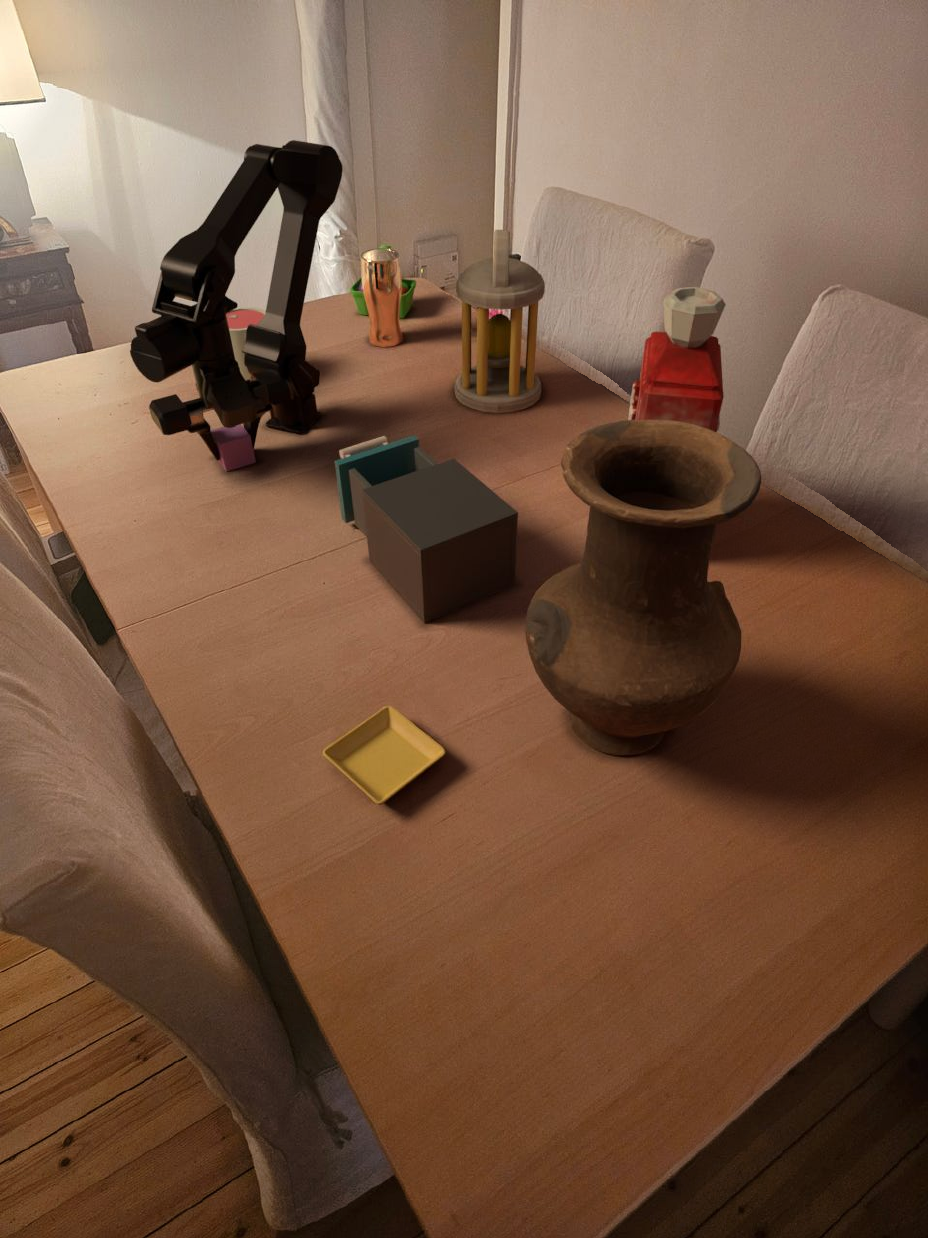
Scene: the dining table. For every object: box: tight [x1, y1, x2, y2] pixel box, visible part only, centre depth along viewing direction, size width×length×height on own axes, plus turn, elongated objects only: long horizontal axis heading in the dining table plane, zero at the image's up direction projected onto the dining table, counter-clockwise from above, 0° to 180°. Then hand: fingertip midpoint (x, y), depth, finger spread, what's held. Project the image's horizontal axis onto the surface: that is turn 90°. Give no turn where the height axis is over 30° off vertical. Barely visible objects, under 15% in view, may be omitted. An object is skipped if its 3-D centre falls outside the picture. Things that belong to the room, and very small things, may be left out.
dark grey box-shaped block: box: [362, 458, 519, 624], centre depth 97 cm, size 14×13×11 cm
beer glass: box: [360, 247, 404, 348], centre depth 145 cm, size 7×7×15 cm
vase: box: [524, 419, 762, 756], centre depth 73 cm, size 19×19×30 cm
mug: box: [226, 306, 266, 381], centre depth 134 cm, size 14×9×10 cm
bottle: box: [627, 286, 727, 433], centre depth 97 cm, size 14×10×30 cm
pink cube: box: [211, 424, 257, 472], centre depth 118 cm, size 4×4×4 cm
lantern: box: [454, 229, 546, 414], centre depth 126 cm, size 14×14×25 cm
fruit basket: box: [349, 244, 417, 319], centre depth 156 cm, size 11×9×11 cm
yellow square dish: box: [322, 705, 447, 805], centre depth 78 cm, size 9×9×2 cm
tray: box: [334, 435, 439, 538], centre depth 104 cm, size 17×11×9 cm
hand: (234, 454), depth 119 cm, fingers open, 5 cm apart
